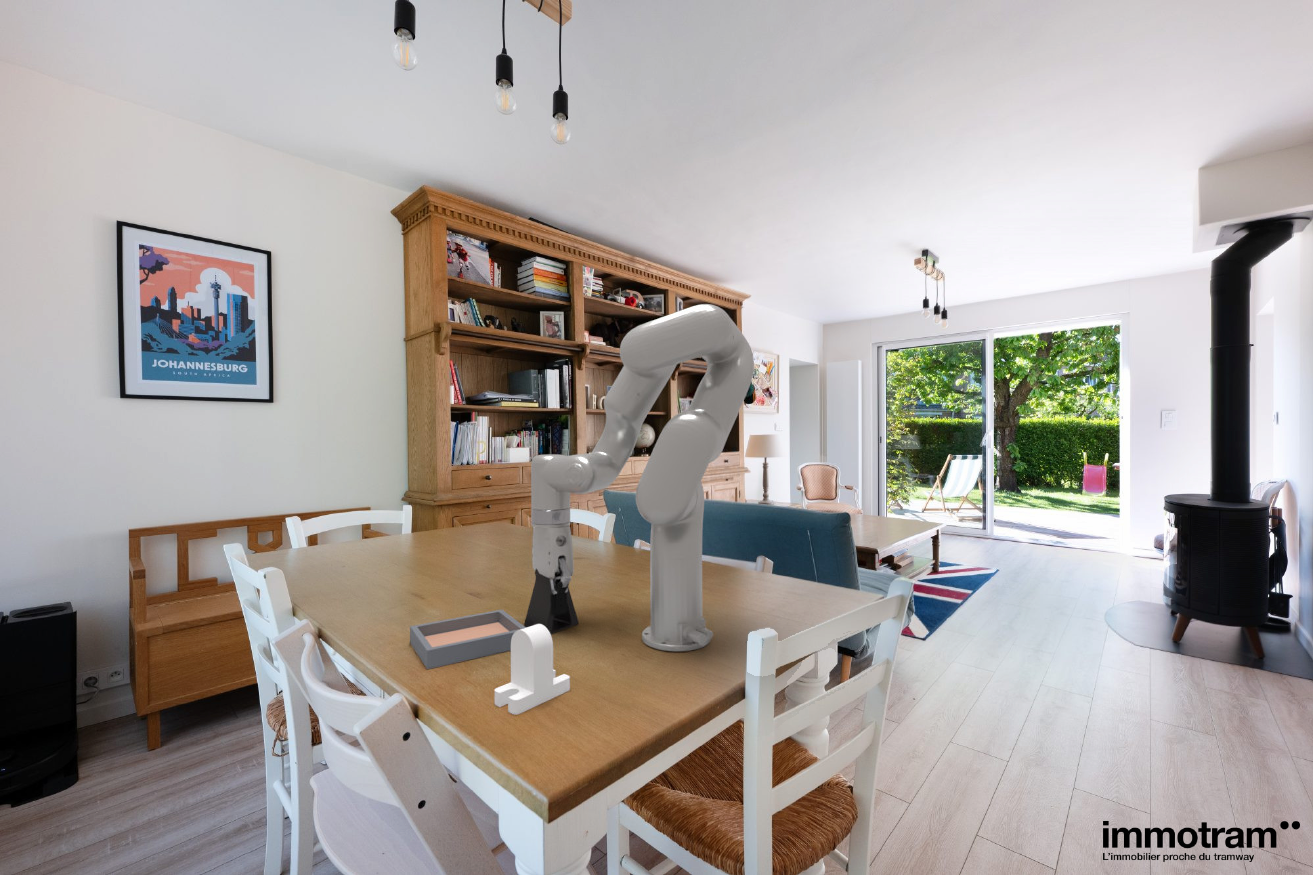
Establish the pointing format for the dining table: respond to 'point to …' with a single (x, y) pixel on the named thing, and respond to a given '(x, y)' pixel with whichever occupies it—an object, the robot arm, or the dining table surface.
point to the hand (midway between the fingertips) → (551, 608)
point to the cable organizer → (531, 672)
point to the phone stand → (548, 607)
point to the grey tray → (463, 638)
